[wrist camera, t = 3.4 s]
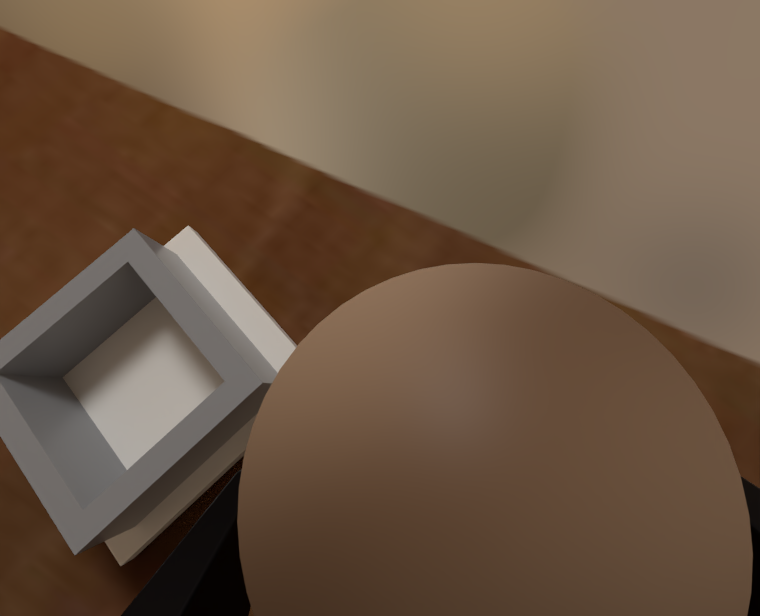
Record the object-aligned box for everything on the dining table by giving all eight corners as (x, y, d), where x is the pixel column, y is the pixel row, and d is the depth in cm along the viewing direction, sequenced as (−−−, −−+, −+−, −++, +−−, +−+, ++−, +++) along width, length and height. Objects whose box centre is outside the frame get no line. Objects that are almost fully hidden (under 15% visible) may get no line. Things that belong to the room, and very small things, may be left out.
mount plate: (326, 378, 18) (304, 373, 14) (134, 558, 17) (55, 604, 13) (196, 231, 20) (148, 194, 16) (18, 383, 19) (-78, 380, 15)
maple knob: (521, 426, 17) (869, 521, 4) (427, 523, 16) (491, 976, 4) (428, 332, 18) (474, 180, 5) (337, 419, 17) (144, 482, 5)
